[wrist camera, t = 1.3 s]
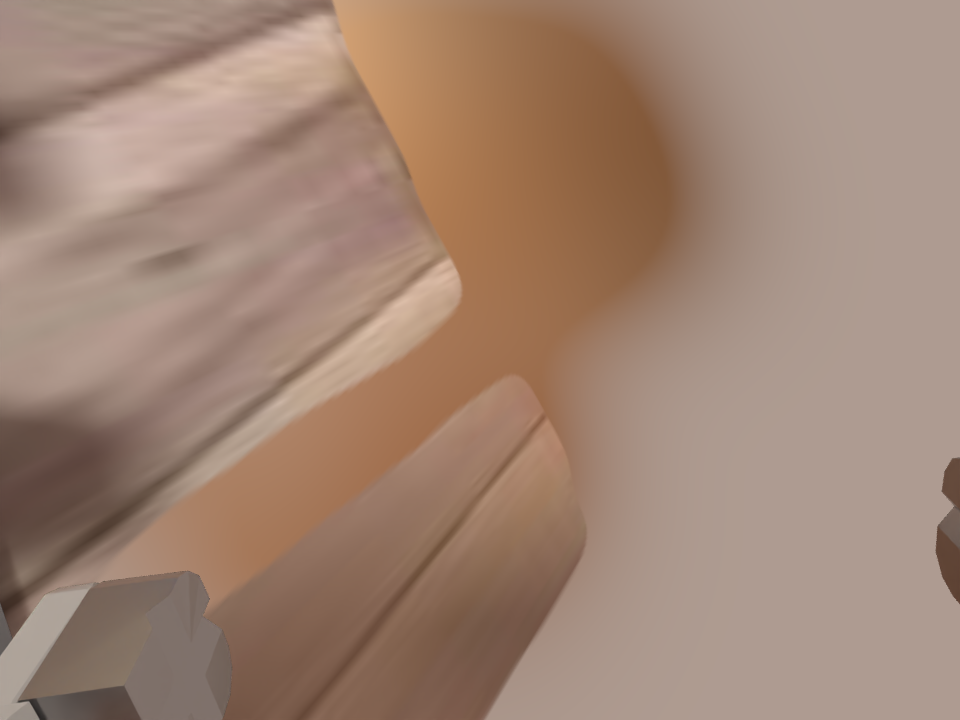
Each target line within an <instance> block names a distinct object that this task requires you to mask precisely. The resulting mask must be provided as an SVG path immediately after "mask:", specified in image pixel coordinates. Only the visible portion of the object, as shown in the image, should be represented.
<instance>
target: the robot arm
mask: <svg viewBox="0 0 960 720" xmlns="http://www.w3.org/2000/svg"><path fill="white" fill-rule="evenodd" d="M942 492H943V494H944V495H945V496H946V497H947V498H948V500H949V501H950V502H951V503H952V504H953V505H954V507H953V509H952V510H951V511H950V512H949V513H948V514H947V516H946V517H945V518H944V519H943V520H942V521H941V523H940V524H939V525H938V527H937V541H936V555H937V558H938V562H939V566H940V570H941V574H942V577H943V579H944V580H945V582H946V584H947V586H948V588H949V590H950V592H951V593H952V595H953V597H954V598H955V599H956V600H957V601H958V602H959V604H960V457H958V458H953V459H952V460H951V462H950V463H949V465H948V467H947V468H946V470H945V472H944V479H943V486H942ZM209 599H210V598H209V596H208V594H207V592H206V589H205V587H204V585H203V583H202V581H201V578H200V576H199V575H197V574H194V573H192V572H190V571H182V572H174V573H167V574H158V575H150V576H143V577H134V578H126V579H118V580H110V581H103V582H101V583H89V584H82V585H75V586H68V587H61V588H58V589H56V590H53V591H51V592H49V593H47V594H45V595H44V597H43V598H42V599H41V601H40V602H39V603H38V605H37V606H36V608H35V609H34V610H33V612H32V613H31V614H30V616H29V617H28V619H27V620H26V621H25V623H24V624H23V625H22V627H21V628H20V630H19V631H18V632H17V634H16V635H15V637H14V638H13V639H12V641H11V642H10V643H9V645H8V646H7V648H6V649H5V650H4V652H3V653H2V654H1V656H0V720H222V719H223V717H224V714H225V710H226V707H227V704H228V701H229V697H230V692H231V677H232V663H231V657H230V651H229V646H228V643H227V641H226V638H225V636H224V633H223V630H222V629H221V628H219V627H218V626H216V625H215V624H213V623H212V622H211V621H209V620H208V619H206V618H205V617H203V614H204V612H205V609H206V607H207V604H208V602H209Z"/></svg>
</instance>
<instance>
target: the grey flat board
mask: <svg viewBox="0 0 960 720" xmlns="http://www.w3.org/2000/svg"><path fill="white" fill-rule="evenodd" d="M11 641H12V636H11V633H10V630H9V627H8V624H7V622H6V619H5V616H4V613H3V610H2V607H1V604H0V656H1V654H2V653H3V652H4V650H5V649H6V648H7V646H8V645H9V643H10V642H11Z"/></svg>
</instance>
